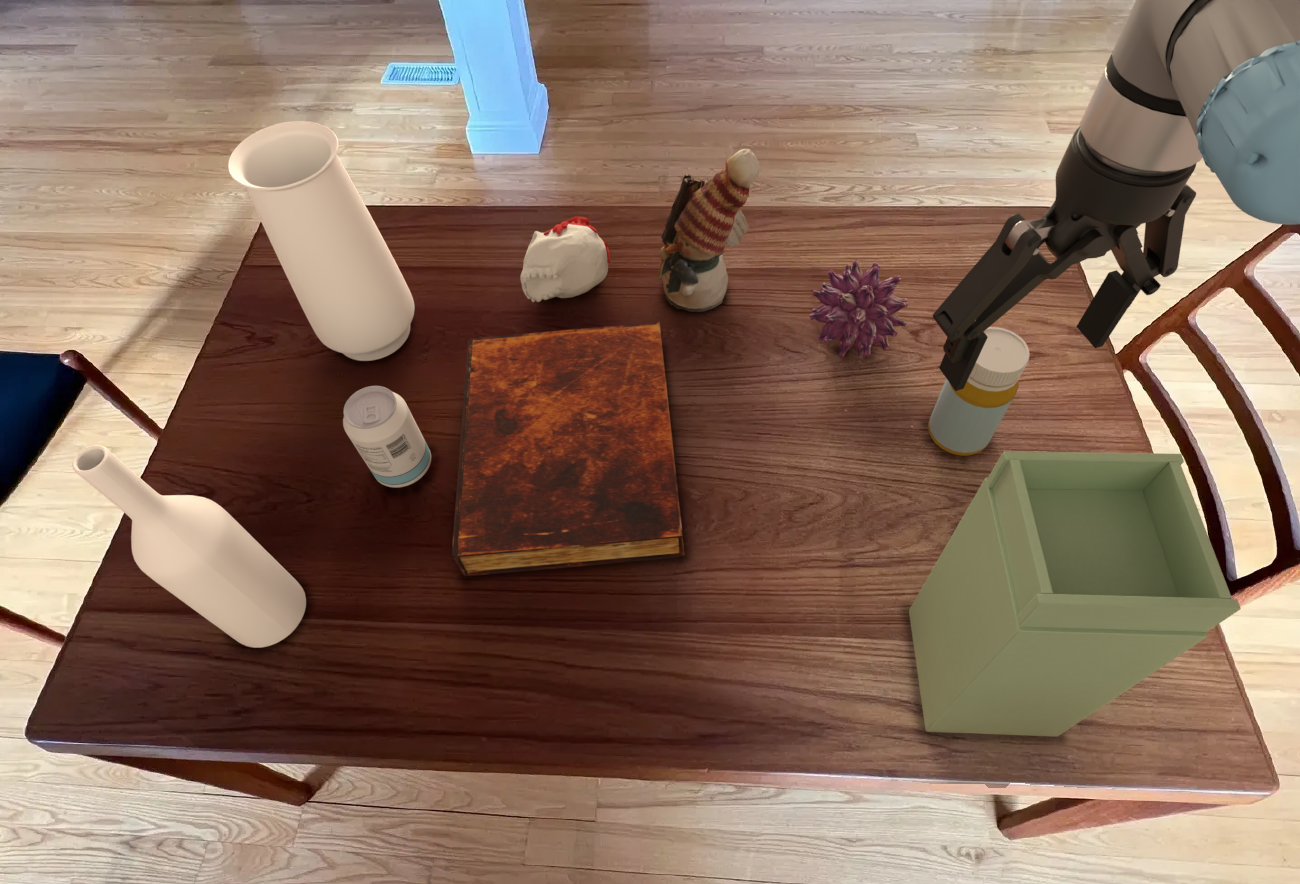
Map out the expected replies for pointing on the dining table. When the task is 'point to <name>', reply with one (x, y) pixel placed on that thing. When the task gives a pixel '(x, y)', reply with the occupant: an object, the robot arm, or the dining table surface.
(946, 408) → the bottle
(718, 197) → the figurine
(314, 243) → the vase
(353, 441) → the beverage can
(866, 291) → the flower
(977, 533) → the stand
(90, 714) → the dining table surface
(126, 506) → the bottle
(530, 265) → the white and red skull
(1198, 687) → the dining table surface
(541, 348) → the book
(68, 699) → the dining table surface
